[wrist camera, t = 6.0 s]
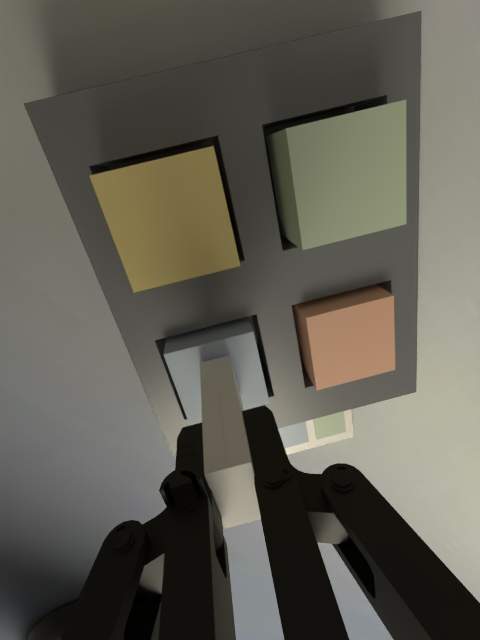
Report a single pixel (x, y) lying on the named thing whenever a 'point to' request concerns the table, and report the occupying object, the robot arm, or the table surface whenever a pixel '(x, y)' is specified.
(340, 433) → the card
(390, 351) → the key terracotta
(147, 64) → the table surface
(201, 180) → the key mustard
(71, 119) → the keypad
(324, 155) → the key sage
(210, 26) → the table surface
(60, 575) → the table surface
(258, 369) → the key slate
